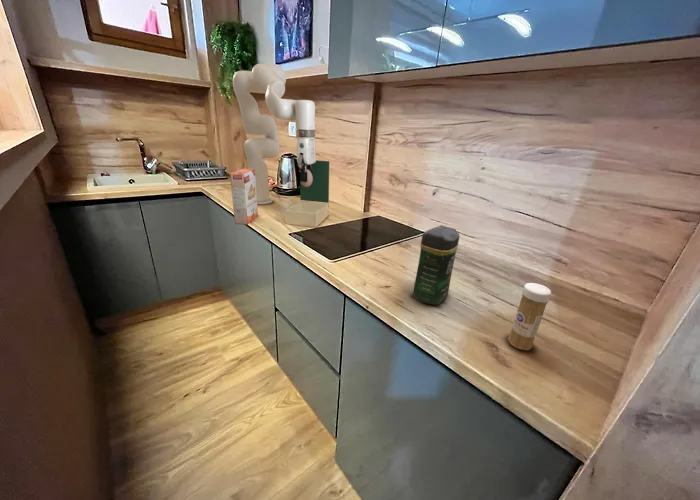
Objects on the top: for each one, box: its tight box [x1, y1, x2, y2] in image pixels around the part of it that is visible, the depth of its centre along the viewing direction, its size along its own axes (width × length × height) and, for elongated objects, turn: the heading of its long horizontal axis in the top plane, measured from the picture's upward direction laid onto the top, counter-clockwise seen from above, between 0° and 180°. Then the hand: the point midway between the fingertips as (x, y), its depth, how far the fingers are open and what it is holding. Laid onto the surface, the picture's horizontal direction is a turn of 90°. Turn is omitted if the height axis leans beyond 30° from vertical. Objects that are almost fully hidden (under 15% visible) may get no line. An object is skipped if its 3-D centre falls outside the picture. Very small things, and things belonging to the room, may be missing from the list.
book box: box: [284, 200, 329, 228], centre depth 134 cm, size 18×14×6 cm
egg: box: [301, 169, 313, 187], centre depth 127 cm, size 5×5×7 cm
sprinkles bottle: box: [507, 282, 552, 351], centre depth 60 cm, size 5×5×14 cm
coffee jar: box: [412, 225, 460, 306], centre depth 76 cm, size 10×8×19 cm
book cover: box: [299, 159, 330, 204], centre depth 140 cm, size 18×14×6 cm
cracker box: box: [229, 168, 259, 226], centre depth 127 cm, size 14×6×21 cm, turn 179°
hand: (306, 180), depth 128 cm, fingers closed on egg, 5 cm apart
